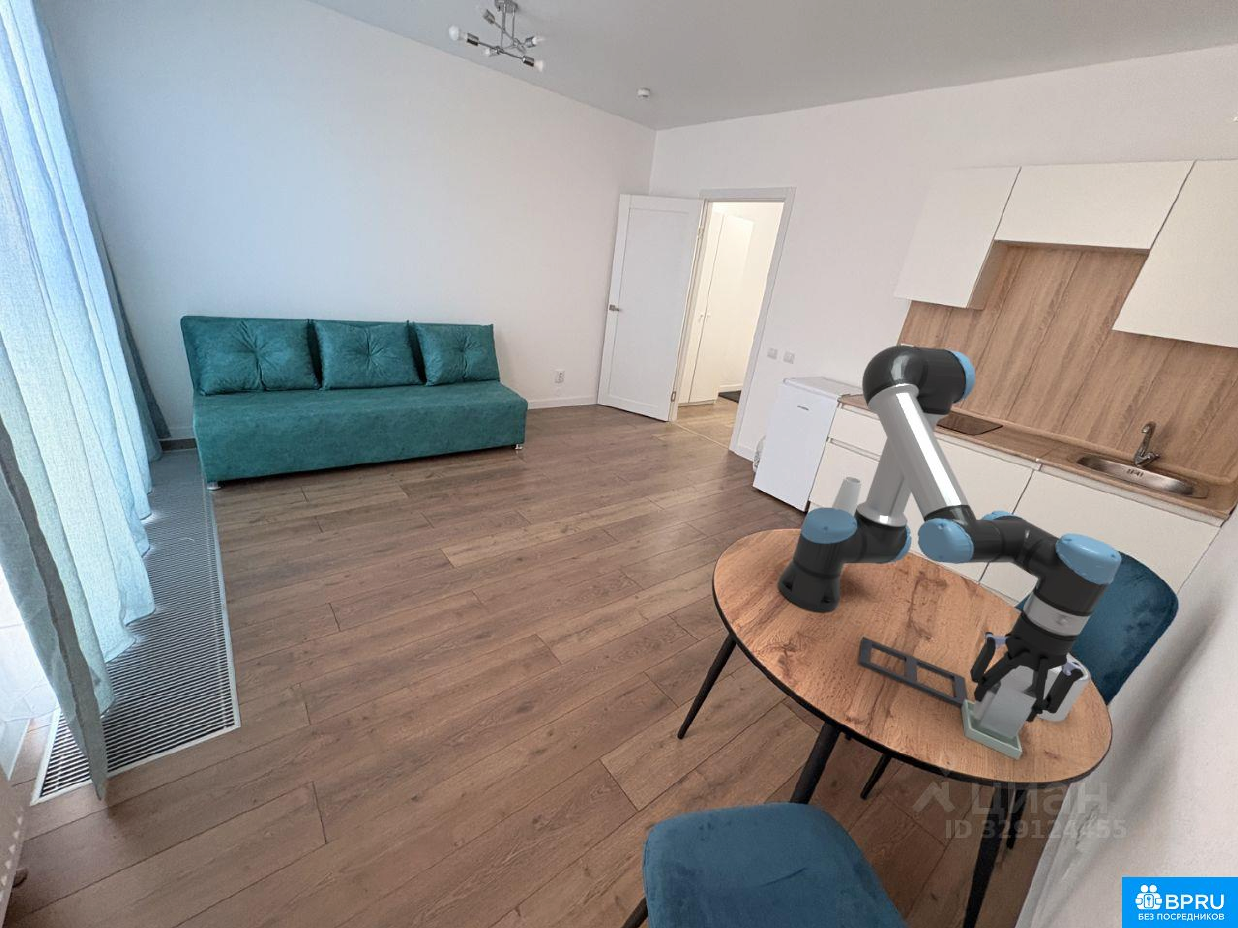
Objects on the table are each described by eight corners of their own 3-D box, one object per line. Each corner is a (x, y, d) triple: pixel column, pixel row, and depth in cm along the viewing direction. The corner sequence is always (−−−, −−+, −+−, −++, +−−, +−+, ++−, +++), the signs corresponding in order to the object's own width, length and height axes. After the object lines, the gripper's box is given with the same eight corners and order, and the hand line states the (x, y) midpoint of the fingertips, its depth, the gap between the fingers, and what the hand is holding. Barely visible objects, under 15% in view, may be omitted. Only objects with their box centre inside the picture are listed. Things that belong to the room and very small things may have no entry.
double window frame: (858, 663, 102) (859, 660, 101) (861, 639, 109) (862, 636, 109) (967, 710, 93) (969, 706, 93) (962, 680, 100) (964, 677, 100)
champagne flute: (836, 545, 150) (859, 476, 141) (845, 556, 144) (869, 485, 135) (815, 542, 150) (837, 474, 141) (824, 554, 143) (846, 483, 135)
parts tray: (964, 736, 87) (969, 728, 87) (961, 706, 94) (964, 698, 93) (1017, 759, 84) (1022, 752, 83) (1009, 727, 90) (1014, 719, 90)
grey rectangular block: (977, 729, 87) (1001, 684, 83) (974, 710, 91) (997, 667, 87) (1010, 743, 85) (1036, 698, 81) (1005, 723, 89) (1030, 679, 85)
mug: (996, 663, 107) (1016, 626, 103) (1052, 683, 103) (1075, 646, 99) (1009, 705, 95) (1032, 666, 91) (1072, 730, 91) (1099, 690, 87)
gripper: (988, 611, 80) (939, 711, 89) (1129, 660, 72) (1060, 764, 81) (982, 590, 86) (937, 685, 95) (1112, 632, 78) (1049, 731, 87)
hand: (994, 721), depth 88 cm, fingers closed on grey rectangular block, 5 cm apart
